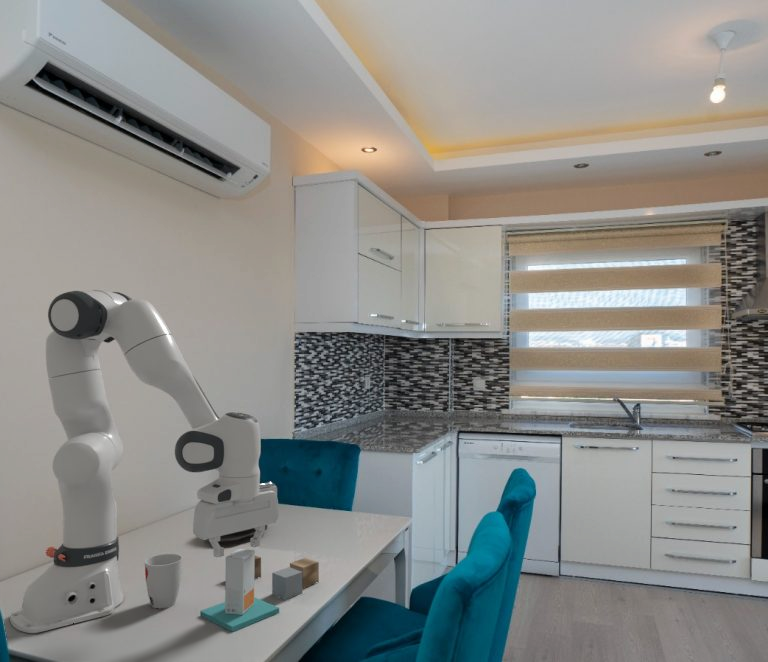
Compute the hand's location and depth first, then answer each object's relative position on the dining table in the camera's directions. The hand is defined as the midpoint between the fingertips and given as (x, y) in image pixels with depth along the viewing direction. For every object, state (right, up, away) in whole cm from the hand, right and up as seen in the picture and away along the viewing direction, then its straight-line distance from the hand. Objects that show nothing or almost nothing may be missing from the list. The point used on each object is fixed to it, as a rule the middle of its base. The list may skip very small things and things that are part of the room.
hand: (237, 551), depth 131 cm
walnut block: (-3, -15, +21) cm, 26 cm away
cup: (-18, -14, +5) cm, 23 cm away
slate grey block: (+9, -14, +10) cm, 20 cm away
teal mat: (+1, -13, -1) cm, 13 cm away
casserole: (-14, -17, +58) cm, 62 cm away
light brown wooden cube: (+12, -14, +17) cm, 25 cm away
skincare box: (+1, -13, 0) cm, 13 cm away
